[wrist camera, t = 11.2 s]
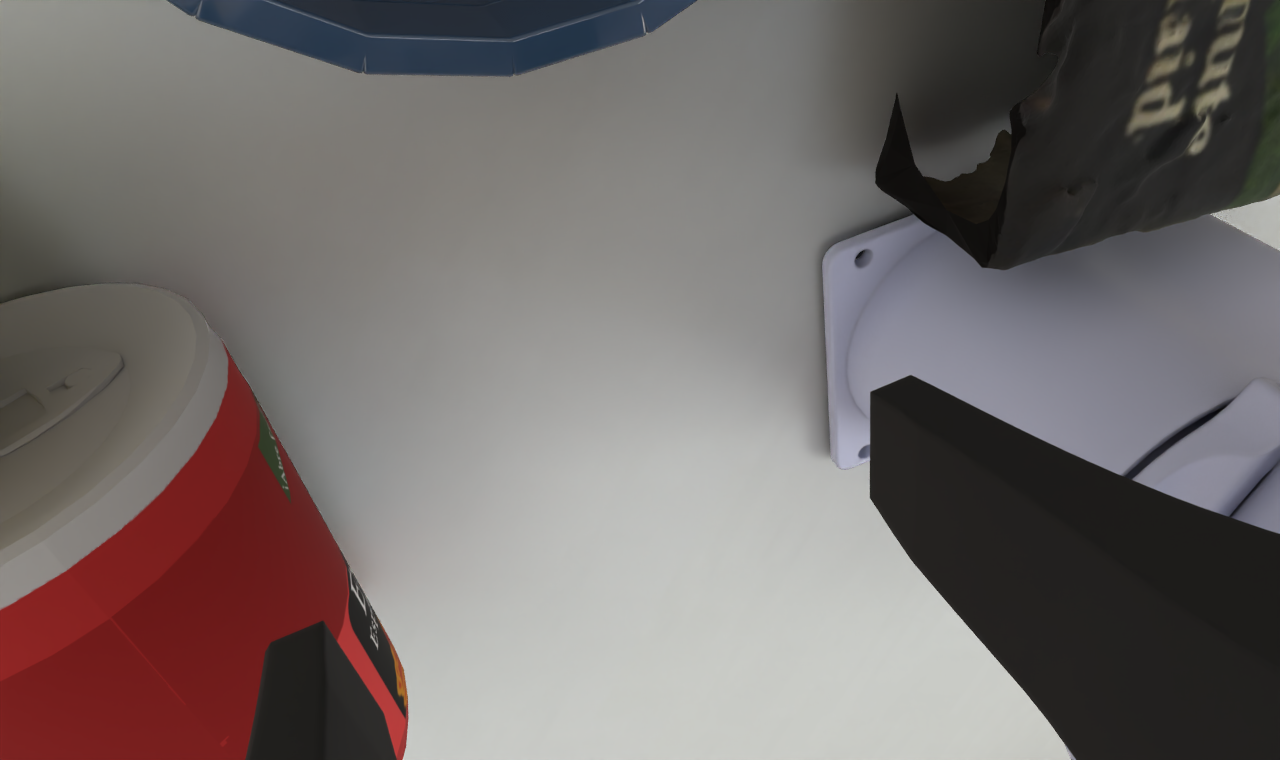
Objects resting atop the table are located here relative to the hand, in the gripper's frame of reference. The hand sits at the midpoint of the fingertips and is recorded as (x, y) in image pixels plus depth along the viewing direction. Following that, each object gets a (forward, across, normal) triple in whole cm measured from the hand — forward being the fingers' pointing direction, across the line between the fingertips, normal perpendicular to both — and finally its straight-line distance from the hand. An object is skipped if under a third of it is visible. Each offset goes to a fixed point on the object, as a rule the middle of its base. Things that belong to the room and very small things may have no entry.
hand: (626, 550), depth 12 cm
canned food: (+7, +9, +10) cm, 15 cm away
